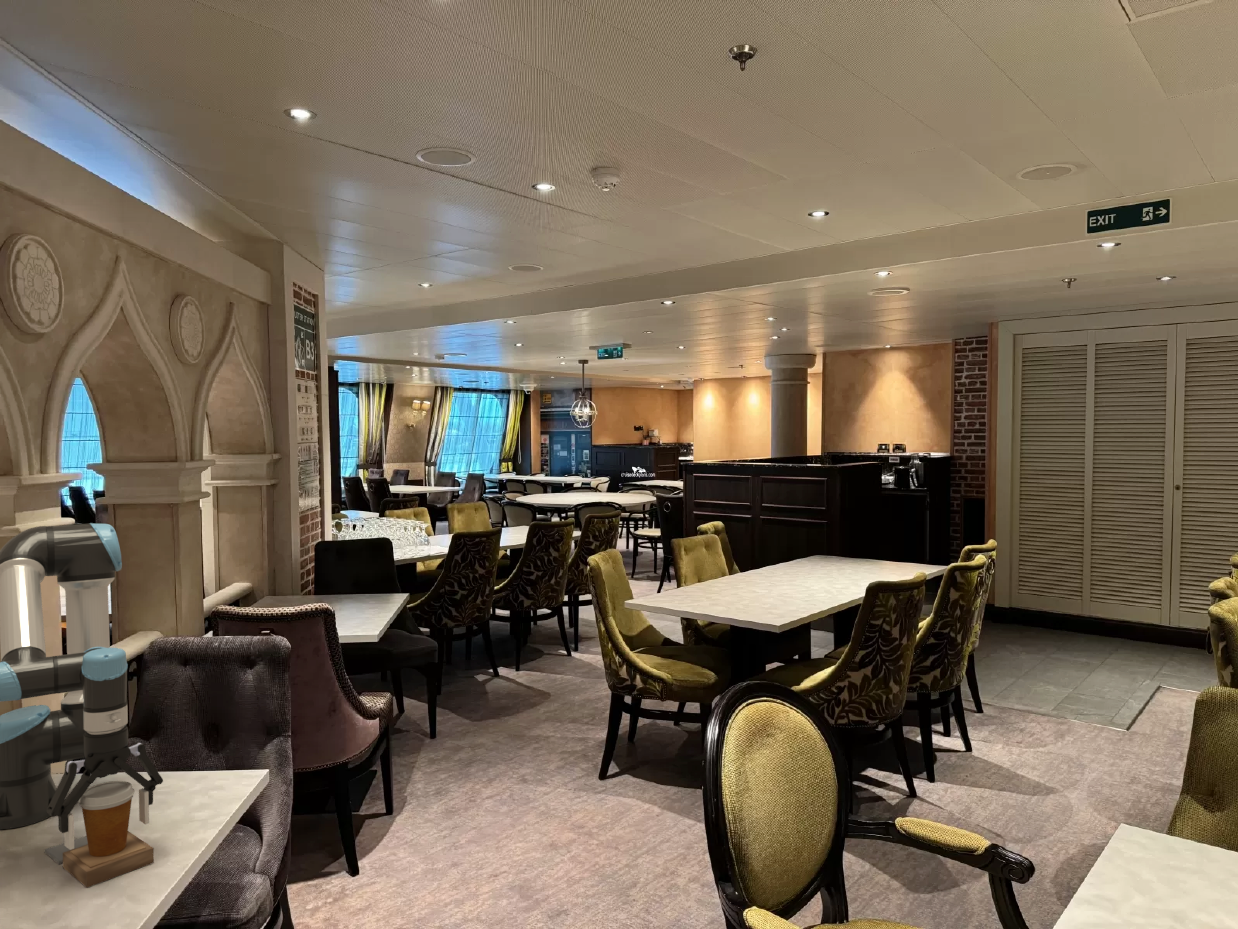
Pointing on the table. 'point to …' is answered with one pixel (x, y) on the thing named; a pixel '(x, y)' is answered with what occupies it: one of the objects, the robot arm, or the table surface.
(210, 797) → the table surface
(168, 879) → the table surface
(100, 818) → the disposable coffee cup
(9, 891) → the table surface
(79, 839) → the slate coaster
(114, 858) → the walnut base
